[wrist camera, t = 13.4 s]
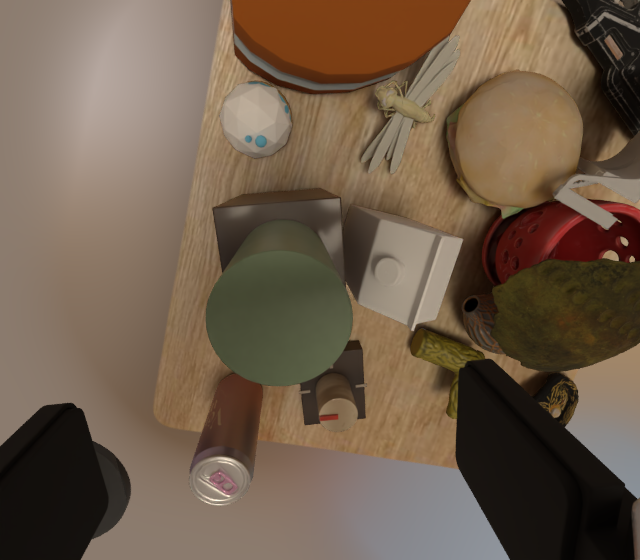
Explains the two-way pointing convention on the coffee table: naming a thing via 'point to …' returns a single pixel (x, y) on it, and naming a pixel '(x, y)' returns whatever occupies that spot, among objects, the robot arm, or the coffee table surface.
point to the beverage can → (228, 443)
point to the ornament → (256, 119)
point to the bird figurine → (444, 358)
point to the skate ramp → (604, 182)
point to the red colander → (557, 237)
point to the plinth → (295, 205)
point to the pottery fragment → (568, 313)
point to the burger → (515, 141)
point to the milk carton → (397, 264)
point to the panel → (346, 366)
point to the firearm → (613, 50)
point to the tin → (279, 307)
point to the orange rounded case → (338, 39)
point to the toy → (410, 104)
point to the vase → (481, 321)
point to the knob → (335, 403)
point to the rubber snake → (558, 397)
